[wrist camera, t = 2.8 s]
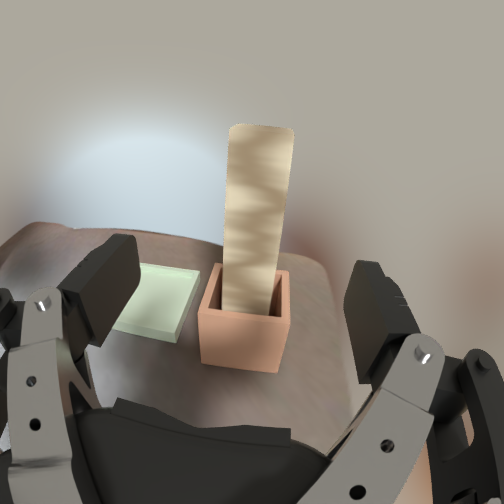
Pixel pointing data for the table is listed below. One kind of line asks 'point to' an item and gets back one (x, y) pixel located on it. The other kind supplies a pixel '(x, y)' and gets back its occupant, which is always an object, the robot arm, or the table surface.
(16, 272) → the table surface
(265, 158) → the post
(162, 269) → the tray
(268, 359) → the salmon pink open box
